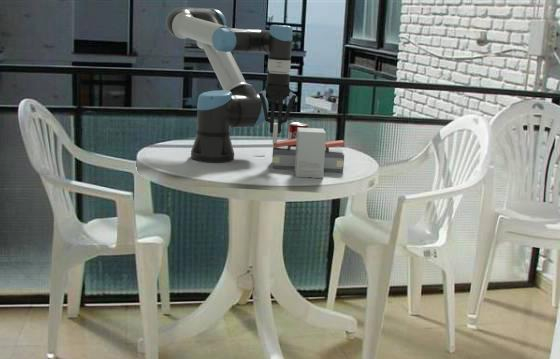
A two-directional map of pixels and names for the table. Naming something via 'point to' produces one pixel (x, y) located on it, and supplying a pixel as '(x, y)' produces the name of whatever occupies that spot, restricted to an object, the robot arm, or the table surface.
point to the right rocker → (334, 143)
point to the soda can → (295, 130)
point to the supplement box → (310, 152)
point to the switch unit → (287, 154)
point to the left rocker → (284, 143)
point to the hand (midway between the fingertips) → (274, 142)
